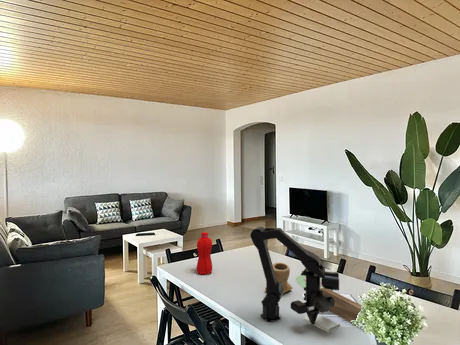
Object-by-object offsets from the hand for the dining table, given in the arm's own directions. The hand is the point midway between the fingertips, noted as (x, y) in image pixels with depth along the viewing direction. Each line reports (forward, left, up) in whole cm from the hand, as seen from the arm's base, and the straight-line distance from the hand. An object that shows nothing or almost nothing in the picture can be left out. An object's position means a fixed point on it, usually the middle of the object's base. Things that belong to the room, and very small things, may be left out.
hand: (312, 324), depth 125 cm
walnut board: (+18, 0, -1) cm, 18 cm away
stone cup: (+8, +34, -1) cm, 35 cm away
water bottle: (-17, +79, -1) cm, 81 cm away
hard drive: (+5, 0, -1) cm, 5 cm away
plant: (+32, +36, -1) cm, 48 cm away
